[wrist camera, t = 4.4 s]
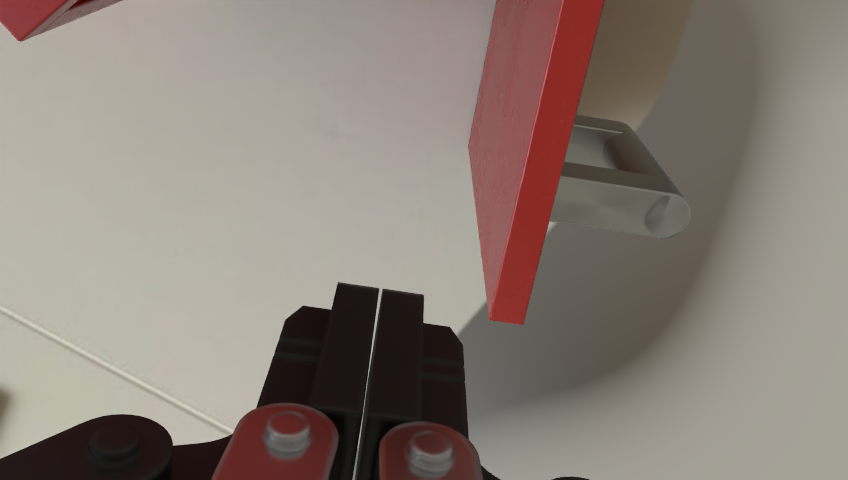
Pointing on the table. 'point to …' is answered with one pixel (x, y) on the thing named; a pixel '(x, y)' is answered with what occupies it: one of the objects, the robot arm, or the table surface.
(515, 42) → the door
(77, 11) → the red cabinet
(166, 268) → the table surface
